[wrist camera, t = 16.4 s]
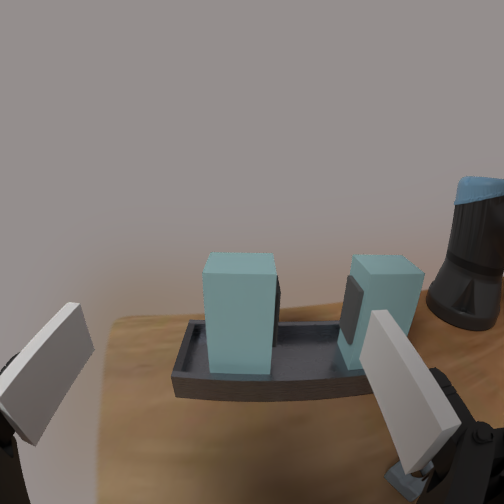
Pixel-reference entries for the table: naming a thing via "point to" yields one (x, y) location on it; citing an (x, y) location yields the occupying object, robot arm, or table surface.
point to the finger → (241, 311)
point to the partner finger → (376, 299)
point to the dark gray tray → (272, 368)
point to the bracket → (407, 480)
